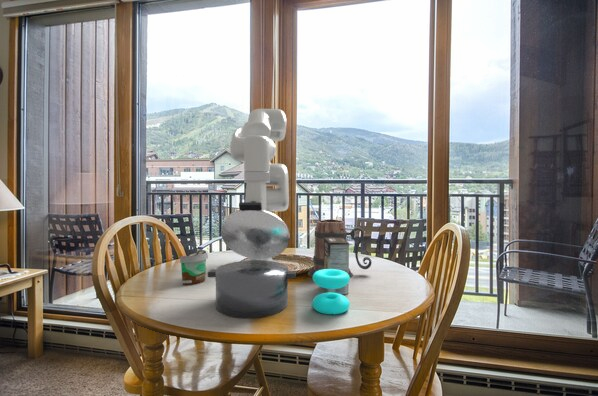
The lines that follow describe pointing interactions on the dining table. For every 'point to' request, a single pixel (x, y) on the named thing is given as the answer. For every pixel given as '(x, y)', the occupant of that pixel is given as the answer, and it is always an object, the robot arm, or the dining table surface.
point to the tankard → (333, 230)
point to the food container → (194, 267)
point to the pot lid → (255, 232)
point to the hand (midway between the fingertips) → (257, 238)
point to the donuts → (331, 301)
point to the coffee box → (337, 258)
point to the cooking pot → (251, 288)
